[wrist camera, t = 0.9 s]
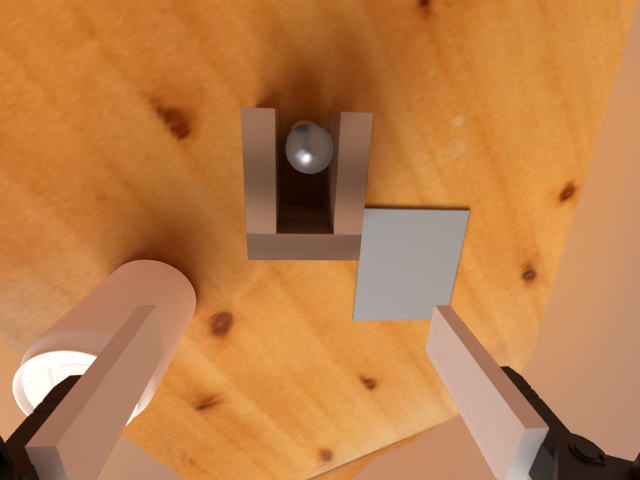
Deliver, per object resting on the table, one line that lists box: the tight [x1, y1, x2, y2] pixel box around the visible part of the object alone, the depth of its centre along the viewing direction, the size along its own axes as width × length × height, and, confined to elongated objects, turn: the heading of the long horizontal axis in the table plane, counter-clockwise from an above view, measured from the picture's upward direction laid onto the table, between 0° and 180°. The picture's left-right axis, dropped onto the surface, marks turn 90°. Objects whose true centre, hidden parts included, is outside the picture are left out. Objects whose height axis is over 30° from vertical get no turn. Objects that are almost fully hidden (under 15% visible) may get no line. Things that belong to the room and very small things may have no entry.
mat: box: [353, 208, 470, 321], centre depth 32 cm, size 12×10×1 cm
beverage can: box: [13, 260, 196, 425], centre depth 25 cm, size 8×8×12 cm
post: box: [286, 120, 334, 174], centre depth 22 cm, size 3×3×10 cm
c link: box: [241, 107, 373, 260], centre depth 24 cm, size 10×8×7 cm
